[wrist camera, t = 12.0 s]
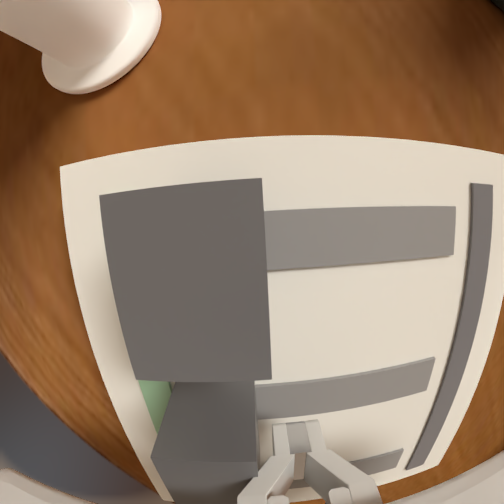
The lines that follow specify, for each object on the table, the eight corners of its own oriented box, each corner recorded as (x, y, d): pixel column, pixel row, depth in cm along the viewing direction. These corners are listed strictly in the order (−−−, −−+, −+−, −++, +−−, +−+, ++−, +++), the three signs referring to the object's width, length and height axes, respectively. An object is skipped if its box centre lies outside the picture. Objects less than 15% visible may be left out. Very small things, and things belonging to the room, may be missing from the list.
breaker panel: (475, 157, 12) (514, 156, 9) (423, 441, 17) (438, 466, 14) (94, 168, 12) (57, 166, 9) (169, 470, 17) (162, 502, 14)
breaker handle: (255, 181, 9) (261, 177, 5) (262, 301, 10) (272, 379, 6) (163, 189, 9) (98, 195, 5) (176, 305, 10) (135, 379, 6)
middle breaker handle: (254, 372, 11) (256, 461, 6) (259, 437, 12) (262, 515, 7) (177, 374, 11) (150, 457, 6) (195, 438, 12) (181, 513, 7)
